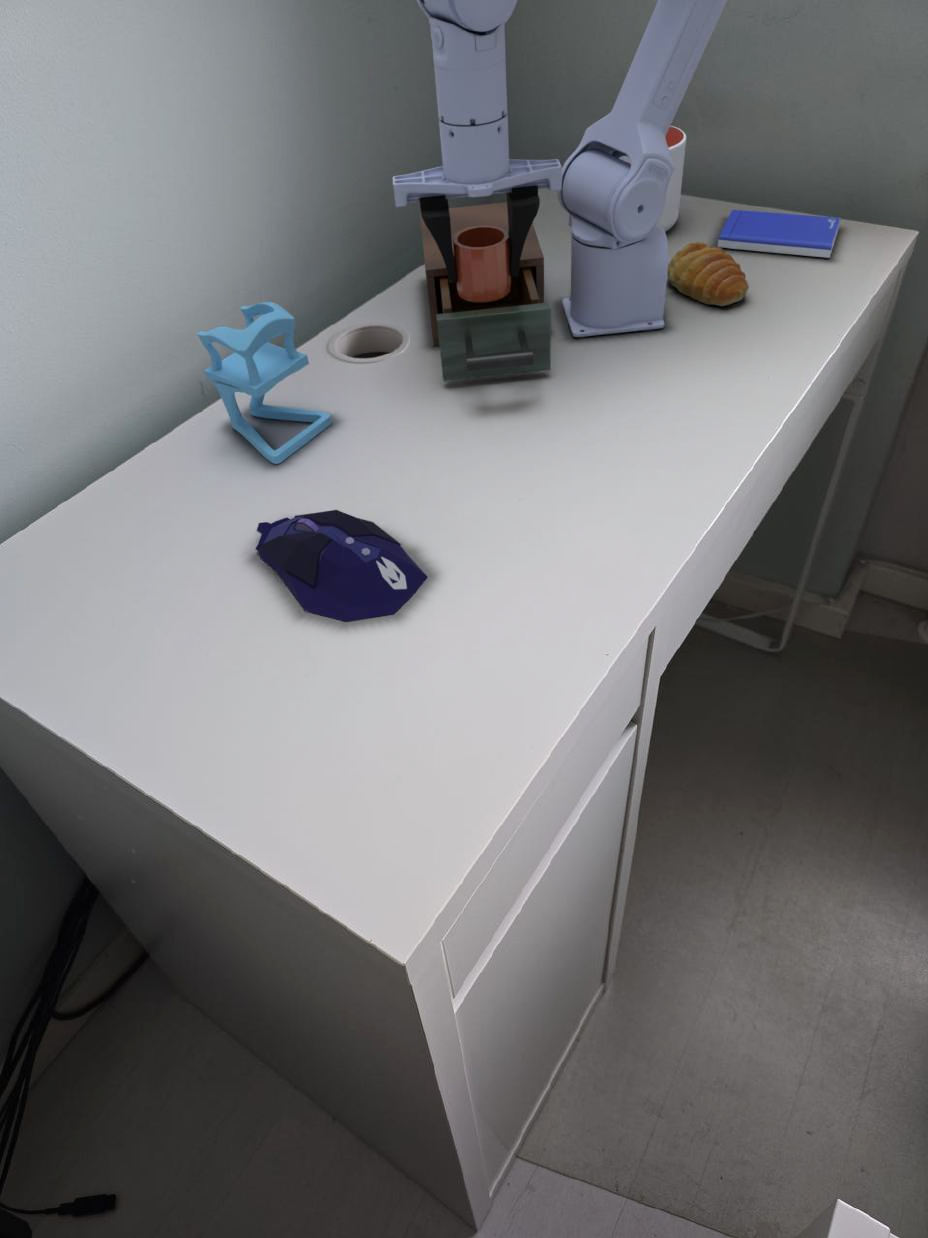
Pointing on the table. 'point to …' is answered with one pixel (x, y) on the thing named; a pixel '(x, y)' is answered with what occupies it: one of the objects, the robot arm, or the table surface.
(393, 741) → the table surface
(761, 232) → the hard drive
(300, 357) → the chair
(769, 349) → the table surface
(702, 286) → the pastry
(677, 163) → the cup
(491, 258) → the small cup
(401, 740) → the table surface
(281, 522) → the computer mouse
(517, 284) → the drawer
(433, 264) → the cabinet
